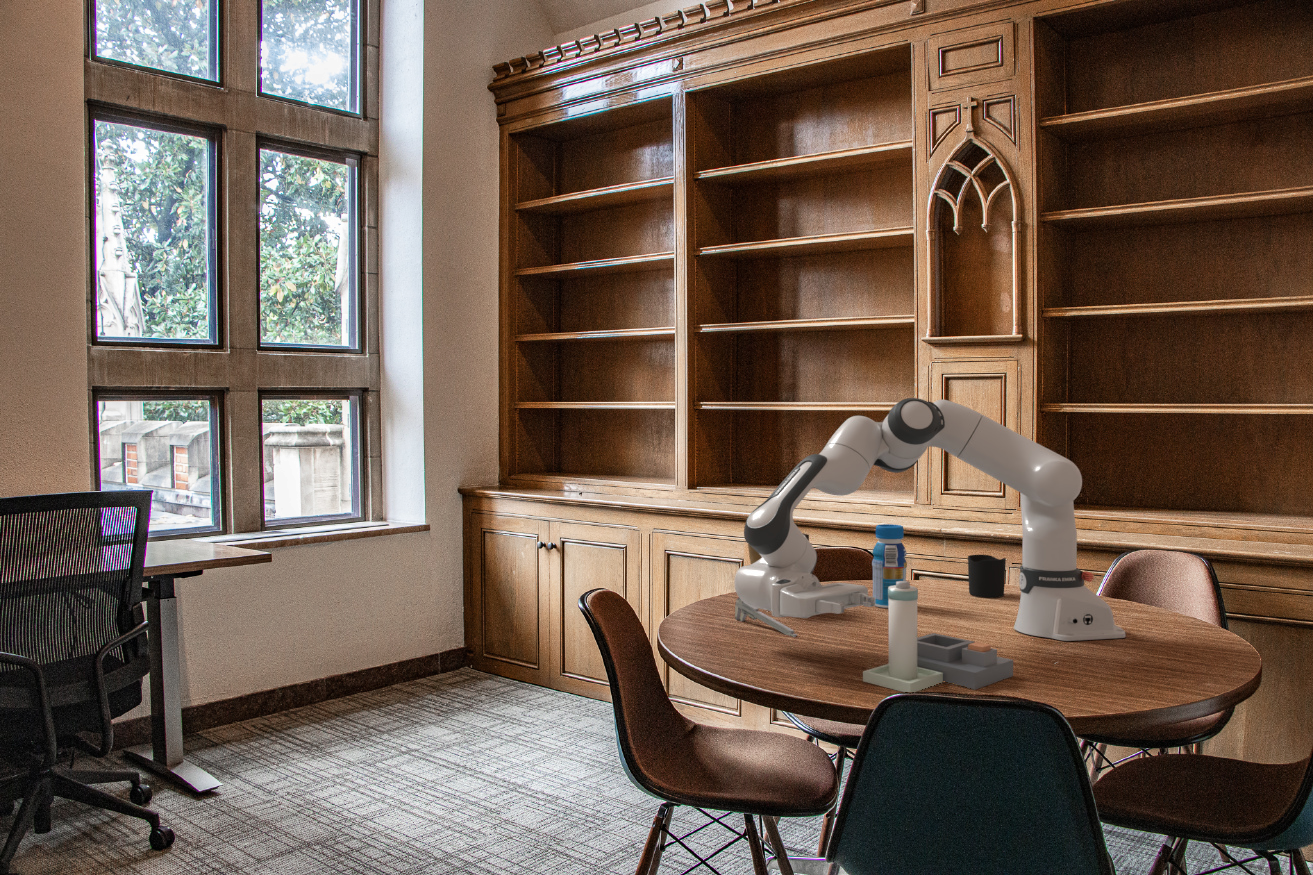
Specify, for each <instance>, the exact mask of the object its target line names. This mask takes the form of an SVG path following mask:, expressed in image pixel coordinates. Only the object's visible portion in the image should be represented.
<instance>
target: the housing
mask: <svg viewBox="0 0 1313 875" xmlns="http://www.w3.org/2000/svg"><path fill="white" fill-rule="evenodd" d="M975 642H976V641H974V640H969V639H965V638H964V639H963V638H959V637H955V636H950V635H945V634H940V633H935V632H933V633H929V634H925V635H922V636H917V667H920V668H925V669H929V670H933V671H937V672H941V673H943V681H945V682H948V683H947V684H949V683H954V684H957V685H961V686H965V687H967V689H970V688H971V689H970V690H974V691H977V690H978V689H981V688H984V687H986V686H989V685H992V684H995V683H997V682H1000V681H1003V679H1004V680H1006V679H1009V678H1011V677H1013V676H1014V659H1012V658H1011V659H1010V658H1007V657H1006V658H1005V657H1001V656H998V649H996V648H992V647H991V650H989V651H986V652H978V651H974V650H969V649H968V644H971V643H975ZM945 682H944V683H945ZM957 685H956V686H957ZM961 686H960V687H961ZM965 687H964V688H965Z"/></svg>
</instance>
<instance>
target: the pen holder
mask: <svg viewBox="0 0 1313 875" xmlns="http://www.w3.org/2000/svg"><path fill="white" fill-rule="evenodd" d="M1006 560H1007V559H1006V557H1003V558H1001V559H999V558H997V557H995V556H992V555H989V554H971V555H968V556H967V568H968V569H967V570H968V572H967V573H968V593H969V594H970V596H972V597H976V598H983V599H996V598H997V599H998V598H1002V597H1003V596H1004V595H1005V585H1006V584H1005V583H1006V582H1005V581H1006V580H1005V579H1006V563H1007V561H1006Z"/></svg>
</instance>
